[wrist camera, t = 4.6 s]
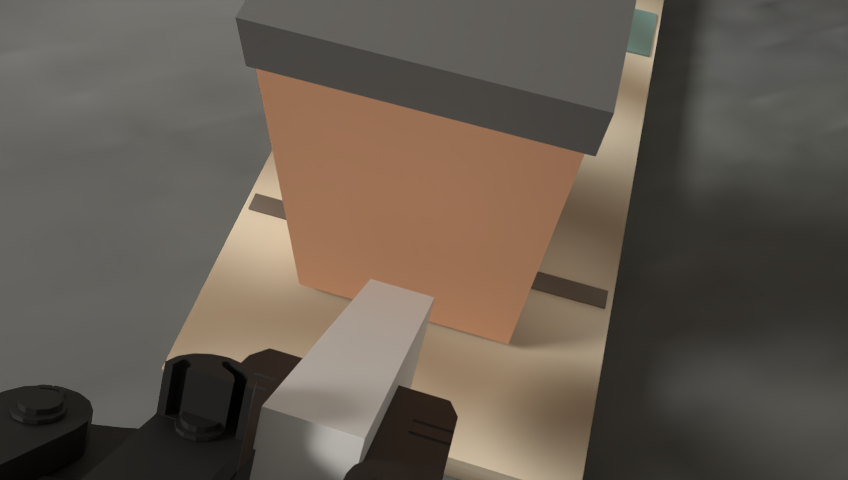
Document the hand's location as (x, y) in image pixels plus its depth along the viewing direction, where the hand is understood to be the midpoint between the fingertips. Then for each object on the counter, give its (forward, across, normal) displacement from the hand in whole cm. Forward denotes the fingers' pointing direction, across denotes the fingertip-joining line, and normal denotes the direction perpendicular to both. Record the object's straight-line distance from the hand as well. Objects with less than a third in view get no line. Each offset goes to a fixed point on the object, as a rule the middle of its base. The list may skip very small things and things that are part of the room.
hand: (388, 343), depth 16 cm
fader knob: (+7, 0, +1) cm, 7 cm away
